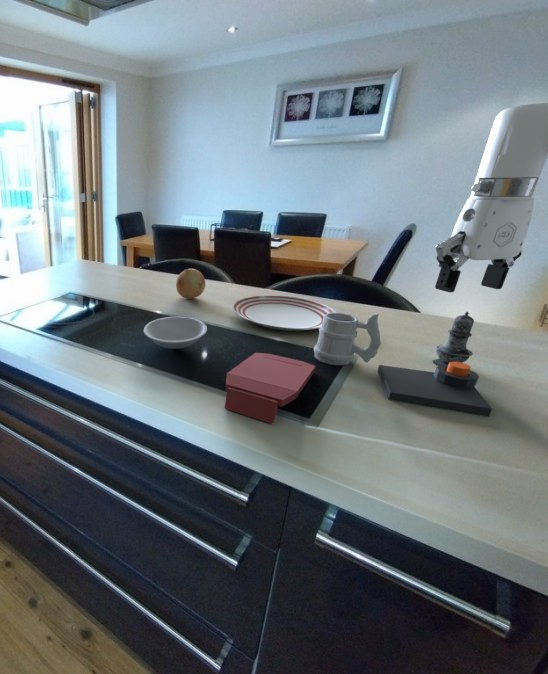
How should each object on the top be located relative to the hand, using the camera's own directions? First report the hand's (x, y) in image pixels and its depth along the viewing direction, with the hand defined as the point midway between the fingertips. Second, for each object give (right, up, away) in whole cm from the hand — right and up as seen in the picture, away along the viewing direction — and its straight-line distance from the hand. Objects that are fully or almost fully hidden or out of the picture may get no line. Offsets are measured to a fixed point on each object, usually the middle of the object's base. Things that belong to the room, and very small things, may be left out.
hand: (467, 288), depth 72 cm
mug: (-14, -14, +14) cm, 25 cm away
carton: (-35, -19, +5) cm, 40 cm away
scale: (-7, -19, +1) cm, 20 cm away
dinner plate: (-16, -4, +39) cm, 42 cm away
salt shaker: (+6, -15, +11) cm, 20 cm away
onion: (-37, +4, +61) cm, 71 cm away
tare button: (-1, -16, +1) cm, 16 cm away
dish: (-49, -12, +24) cm, 56 cm away
